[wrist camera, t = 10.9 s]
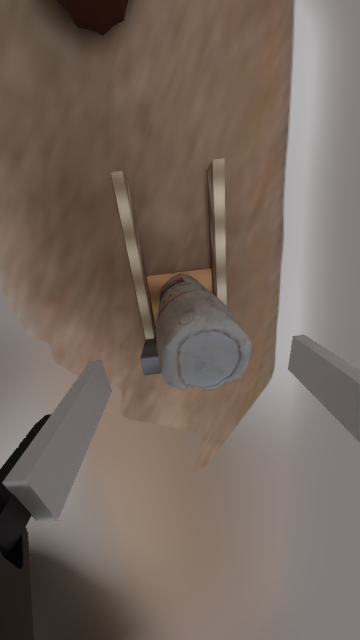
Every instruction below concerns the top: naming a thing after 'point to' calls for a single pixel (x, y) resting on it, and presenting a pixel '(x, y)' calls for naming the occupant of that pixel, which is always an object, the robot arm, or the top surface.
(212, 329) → the grey cylinder
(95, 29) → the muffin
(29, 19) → the top surface
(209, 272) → the track
